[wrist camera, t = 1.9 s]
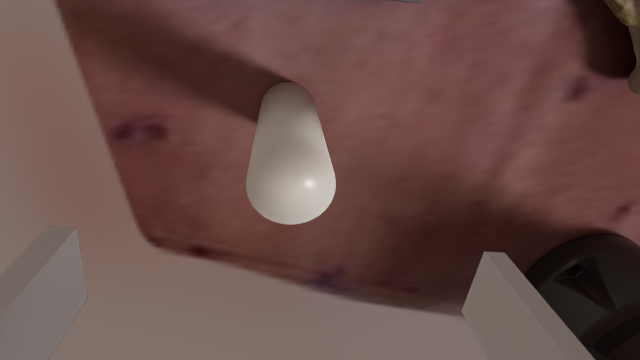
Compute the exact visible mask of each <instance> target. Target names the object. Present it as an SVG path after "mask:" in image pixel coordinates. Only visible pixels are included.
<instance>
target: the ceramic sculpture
mask: <svg viewBox="0 0 640 360" xmlns="http://www.w3.org/2000/svg"><path fill="white" fill-rule="evenodd" d="M604 2H605V3H606V4H607V5H608V7H609V8H610V9H611V10H612V11H613V14H614V15H615V16H616V18H617V19H618V20H619V21H620V22H621V23H623V24H625V25H626V26H629V32H630V35H631V37H632V41H633V48H634V52H635V55H636V59H637V62H636V67H635V69H634V70H633V71H632V73H631V74H630V76H629V79H628V86H629V88H630V90H631V91H632V92H634V93H635V94H638V95H640V0H604Z"/></svg>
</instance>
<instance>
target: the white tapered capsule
mask: <svg viewBox="0 0 640 360" xmlns="http://www.w3.org/2000/svg"><path fill="white" fill-rule="evenodd" d="M246 190H247V195H248V198H249V200H250V202H251V204H252V205H253V207H254V208H255V209H256V210H257V212H259V213H260V214H261V215H262V216H264V217H265V218H267V219H269V220H271V221H274V222H276V223H281V224H292V225H293V224H300V223H305V222H308V221H310V220H312V219H314V218H316V217H318V216H319V215H320V214H322V213H323V212H324V211H325V210H326V209H327V207H328V206H329V205H330V203H331V201H332V199H333V197H334V194H335V190H336V179H335V174H334V170H333V167H332V163H331V160H330V156H329V153H328V149H327V145H326V142H325V138H324V135H323V131H322V128H321V124H320V121H319V117H318V114H317V110H316V107H315V103H314V100H313V98H312V96H311V94H310V93H309V91H308V90H307V89H305V88H304V87H303V86H301V85H299V84H297V83H293V82H282V83H279V84H276V85H274V86H272V87H271V88H270V89H269V90H268V91H267V92H266V93H265V95H264V97H263V99H262V102H261V107H260V112H259V117H258V122H257V127H256V133H255V138H254V143H253V148H252V153H251V158H250V163H249V169H248V174H247V179H246Z"/></svg>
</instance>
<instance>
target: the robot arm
mask: <svg viewBox="0 0 640 360" xmlns="http://www.w3.org/2000/svg"><path fill="white" fill-rule="evenodd" d="M87 298H88V297H87V291H86V285H85V278H84V271H83V265H82V259H81V253H80V247H79V241H78V234H77V228H73V227H56V226H49V227H47V228H46V229H45V231H43V233H42V234H41V235H40V236H39V237H38V238H37V239H36V240H35V241H34V242H33V243H32V244H31V245H30V246H29V247H28V248H27V249H26V250H25V251H24V252H23V253H22V254H21V255H20V256H19V257H18V258H17V259H16V260H15V261H14V262H13V263H12V264H11V266H9V268H7V269H6V271H5V272H4V273H3V274H2V275H1V276H0V360H50V358H51V357H52V355H53V353H54V352H55V350H56V348H57V347H58V345H59V344H60V342H61V340H62V339H63V337H64V336H65V334H66V332H67V331H68V329H69V328H70V326H71V324H72V323H73V321H74V319H75V318H76V316H77V314H78V313H79V312H80V310H81V308H82V307H83V305H84V303H85V302H86V300H87ZM461 312H462V313H463V315H464V317H465V319H466V321H467V322H468V324H469V326H470V328H471V329H472V331H473V333H474V335H475V337H476V339H477V340H478V342H479V344H480V346H481V347H482V349H483V351H484V353H485V355H486V356H487V358H488V360H640V246H639V245H637V244H636V243H634V242H633V241H631V240H629V239H627V238H624V237H621V236H616V235H594V236H588V237H584V238H580V239H577V240H574V241H571V242H569V243H566V244H564V245H562V246H560V247H558V248H557V249H555V250H553V251H552V252H550V253H549V254H547V255H546V256H544V257H543V258H542V259H541V260H539V261H538V262H537V263H536V264H535V265H534V266H533V267H532V268H531V269H530V270H529V271H528V273H527V274H526V275H525V276H524V275H523V274H522V273H521V271H520V270H519V269H518V268H517V267H516V266H515V264H514V263H513V262H512V261H511V260H510V258H509V257H508V256H507V255H506V254H505V253H502V252H485V251H484V253H483V256H482V258H481V261H480V264H479V266H478V269H477V272H476V274H475V277H474V279H473V282H472V285H471V287H470V290H469V292H468V295H467V298H466V300H465V303H464V306H463V308H462V311H461Z"/></svg>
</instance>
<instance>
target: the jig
mask: <svg viewBox="0 0 640 360" xmlns="http://www.w3.org/2000/svg"><path fill="white" fill-rule="evenodd" d="M392 1H399V2H406V3H416V4H420V2H421V0H392Z"/></svg>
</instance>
